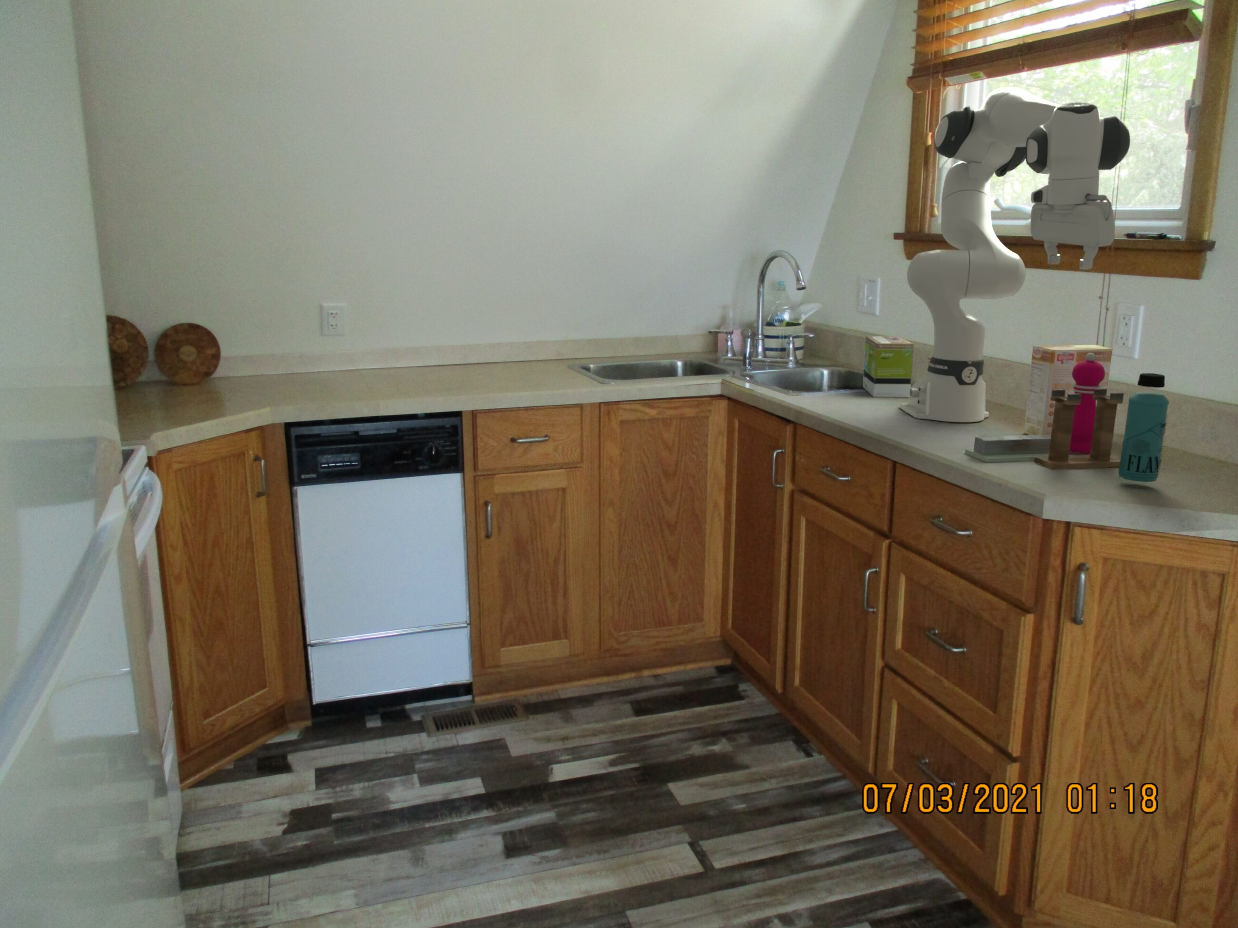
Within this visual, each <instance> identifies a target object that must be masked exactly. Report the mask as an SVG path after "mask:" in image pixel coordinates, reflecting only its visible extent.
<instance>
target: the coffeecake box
mask: <svg viewBox="0 0 1238 928" xmlns="http://www.w3.org/2000/svg"><path fill="white" fill-rule="evenodd" d="M1088 353H1093V354H1094V355H1095V360H1094V361H1096V362H1098V363H1100V364H1101V365H1102V366H1103V367H1104V369H1105V377H1104V379H1103V381H1102V382H1100V384H1099V386H1101V388H1099V389H1107V390H1108V386H1109V377H1110V370H1111V363H1112V362H1111V361H1112V356H1113V355H1112V354H1113V348H1111V347H1107V346H1106V347H1105V346H1102V345H1098V344H1081V345H1079V344H1078V345H1077V344H1075V345H1074V344H1072V345H1068V344H1067V345H1034V346H1032V353H1031V362H1030V363H1031V364H1030V372H1029V382H1028V383H1029V385H1028V392H1027V398H1026V399H1027V401H1026V409H1025V410H1026V411H1025V418H1024V426H1023V427H1024V428H1023V434H1024V435H1027V434H1028V435H1050V436H1051V432H1052V424H1053V416H1054V408H1055V401H1052V400H1051V395H1052V390H1065V396H1066V397H1067V396H1068V394H1075V391H1073V389H1074V386H1073V385H1074V384H1076V383H1075V380H1074V379H1073V377H1072V371H1073V368H1074V366H1075V365H1076V364H1077V363H1079V362H1081V361H1087V360H1086V355H1087V354H1088ZM1106 395H1108V393H1107V394H1106ZM1096 406H1097V400H1096Z"/></svg>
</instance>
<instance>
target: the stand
mask: <svg viewBox="0 0 1238 928" xmlns="http://www.w3.org/2000/svg"><path fill="white" fill-rule="evenodd" d="M1106 394H1107V395H1106ZM1124 396H1125V392H1110V394H1109V395H1108V388H1107V389H1094V393H1093V399H1094V400H1097V406H1096V414H1095V421H1094V429H1093V437H1092V444H1091V452H1090V453H1089V454H1079V455H1077V454H1076V455H1070V452H1069V450H1070V442H1071V434H1072V426H1073V419H1074V411H1075V405H1080V401H1081V394H1068V396H1067V397H1066V396H1065V390H1052V395H1051V400H1052V401H1055V408H1054V416H1053V424H1052V432H1051V441H1050V449H1049V456H1047V457H1035V458H1034V461H1033V462H1034V463H1036V464H1039V465H1041V466H1043V467H1046V468H1049V469H1050V470H1069V469H1073V470H1074V469H1096V468H1097V469H1099V468H1100V469H1101V468H1119V464H1120V461H1119V460H1120V459H1117V458H1115V457H1113V456H1112V457H1111V453H1112V447H1113V446H1112V445H1113V438H1114V432H1115V424H1116V417H1117V410H1118V405H1122V404H1123V403H1124Z"/></svg>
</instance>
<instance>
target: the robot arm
mask: <svg viewBox="0 0 1238 928" xmlns="http://www.w3.org/2000/svg"><path fill="white" fill-rule="evenodd" d="M1100 115H1101V113H1100V110H1099V106H1097V105H1095V104H1093V103H1089V102H1070V103H1069V102H1068V103H1064V104H1057V103H1054V102H1051V101H1048V100H1045V99H1043V98H1041V97H1038V96H1036V95H1033V94H1032V93H1030V92H1028V91H1027V90H1024V89H1021V88H1019V87H1013V86H1012V87H1010V86H1007V87H1006V86H1005V87H1000V88H997V89H995V90H993V91H991V92H990V93H989V94H988V95H987V96H986V98H985V99H984V101H983V103H982V105H981V107H980V108H979V109H975V110H974V109H971V107H970V106H969V105H968V106H965V107H963V108H962V109H957V110H952V111H950V112H948V113H947V114H945V115H944V116H943V117H941V119H940V121H939V123H938V125H937V127H936V130H935V134H934V141H933V142H934V143H933V144H934V149H935V151H936V153H938V154H939V155H940V156H942V157H945V158H947V159H954V160H957V161H959V162H956V163H955V164H953V165H952V166H951V167H950V168H949V169H948V170H947V172H946V175H945V179H944V182H943V187H942V192H941V209H940V210H941V212H940V215H941V216H940V231H941V234H942V237H943V238H944V240H945V241H946V242H947V244H948V245H950V246H952V247H954V248H956V249H934V250H927V251H922V252H918V253H917V254H915V256H913V257H912V259H911V261H910V263H909V264H908V267H907V272H906V279H907V283H908V285H909V288H910V290H911V291H912V292H913V293H914V294H915V295H916V296H918V297H919V299H921V300H922V301H923V302H924V304H925V305H926V306H927V308H928V311H929V313H930V314H931V317H932V322H933V353H932V356H931V357H928V358H927V360H929V361H927V364H928V367H927V368H926V369H927V370H926V371H927V372H926V373H924V375H923V376H922V377H920V378H919V379H918V380H917V381H915V383H913V384H912V385H911V389H910V392H909V394H910V397H909V401H908V402H902V403H899V406H898V408H899V409H901V410H902V411H904V412H905V413H907V414H909V416H910V415H911V416H912V417H913V418H915V419H923V420H931V421H932V420H933V421H938V422H939V421H940V422H948V423H949V422H950V423H951V422H952V423H973V422H974V423H975V422H981V421H983V420H984V419H985V418H988V417H989V414H990V413H989V411H986V383H985V381H984V380H983V378H982V375H983V374H984V369H985V364H984V363H985V360H984V359H983V355H984V345H985V339H986V338H985V335H986V329H985V325H984V323H983V322H982V320H980V319H979V318H977V316H974V315H972V314H971V313H969V312H967V311H965V310H963V309H962V307H961V304H960V300H963V299H969V300H970V299H972V300H973V299H974V300H977V299H978V300H980V299H981V300H996V299H1004V298H1009V297H1013V296H1015V295H1016V294H1017V293H1018V292H1019V291H1020V290H1021V289H1022V287H1023V285H1024V283H1025V280H1026V274H1027V273H1026V265H1025V264H1024V261H1023V259H1022V258H1021V257H1020V255H1019V254H1017V253H1015V252H1013V251H1012V250H1010V249H1008V247H1006V246H1005V245H1004V244H1003V243H1002V242H1001V241H1000V240H999V238H998V237H997V235H996V233H995V231H994V228H993V222H992V213H991V212H992V210H991V207H992V206H991V201H992V200H991V187H990V186H991V185H990V184H991V181H992V177H993V175H995V176H996V177H997V178H1000V177H1001V178H1002V177H1005V176H1006V175H1007V173H1009V172H1011V171H1012V172H1013V170H1015V169H1017V168H1018V167H1019V166H1021V165H1022V164H1023V163H1024V161H1025V163H1026V165H1027V166H1028V167H1029V168H1030V169H1031V170H1032V171H1033V172H1035V173H1036V174H1040V175H1041V174H1042V175H1048V179H1047V184H1046V185H1044V186H1042V187H1041V188H1038V189H1036V190H1033V191H1032V192H1031V194H1030V201H1031V203H1032V204H1033V205H1032V206H1031V210H1030V234H1031V237H1032V238H1033V240H1035V241H1036V240H1037V241H1043V242H1044V243H1043V247H1044V250H1045V252H1046V255H1047V264H1049V265H1059V264H1060V263H1061V254H1059V253H1058V248H1057V246H1059V243H1061V244H1069V245H1077V246H1078V245H1079V246H1083V250H1082V251H1083V252H1084V254H1083V257H1082V259H1079V269H1081V270H1086V271H1087V270H1091V269H1092V268H1093V265H1094V264H1093V263H1094V262H1093V261H1094V258H1095V257H1096V255H1097V254H1098V252H1099V248H1100V247H1107V246H1111V244H1113V242H1114V240H1115V215H1114V210H1113V207H1112V202H1111V201H1110V198H1108V196H1107V195H1105V194H1099V190H1100V189H1099V188H1100V171H1110V170H1112V169H1114V168H1115V167H1116V166H1117V165H1118V164H1119V163H1120V162H1122V160H1124V158H1125V157H1126V155H1127V154H1128V152H1129V149H1130V145H1131V135H1130V134H1131V133H1130V130H1129V128H1128V126H1127V125H1126V123H1124V122H1123V120H1121V119H1120V118H1119V117H1118V116H1116V115H1107V116H1103V117H1100Z"/></svg>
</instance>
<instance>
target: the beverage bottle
mask: <svg viewBox="0 0 1238 928" xmlns="http://www.w3.org/2000/svg"><path fill="white" fill-rule="evenodd" d="M1165 380H1166V378H1165V375H1164V374H1162V373H1152V372H1151V373H1150V372H1148V373H1147V372H1146V373H1145V372H1144V373H1140V374H1139V377H1138V380H1137V386H1140V387H1145V388H1155V389H1156V388H1157V389H1158V388H1165V385H1166V384H1165ZM1169 404H1170V400H1169V399H1168V397H1166V395H1164V394H1163V393H1160V392H1154V391H1137V392H1135V393H1134V394H1132V395H1131V396H1129V397H1128V405H1127V413H1126V420H1125V428H1124V432H1123V433H1124V435H1123V441H1122V442H1121V443H1122V444H1121V451H1120V458H1119V459H1118V460H1119V461H1120V464H1119V467H1118V471H1117V472H1118V477H1120V479H1124V480H1126V481H1131V482H1132V481H1133V482H1139V483H1140V482H1141V483H1152V482H1156V481H1157V479H1158V478H1159V473H1160V470H1161V464H1162V463H1161V462H1162V460H1161V458H1163V457H1162V456H1163V455H1162V454H1163V453H1162V452H1163V448H1164V445H1163V443H1164V438H1165V434H1166V428H1167V418H1168V407H1169Z"/></svg>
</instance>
